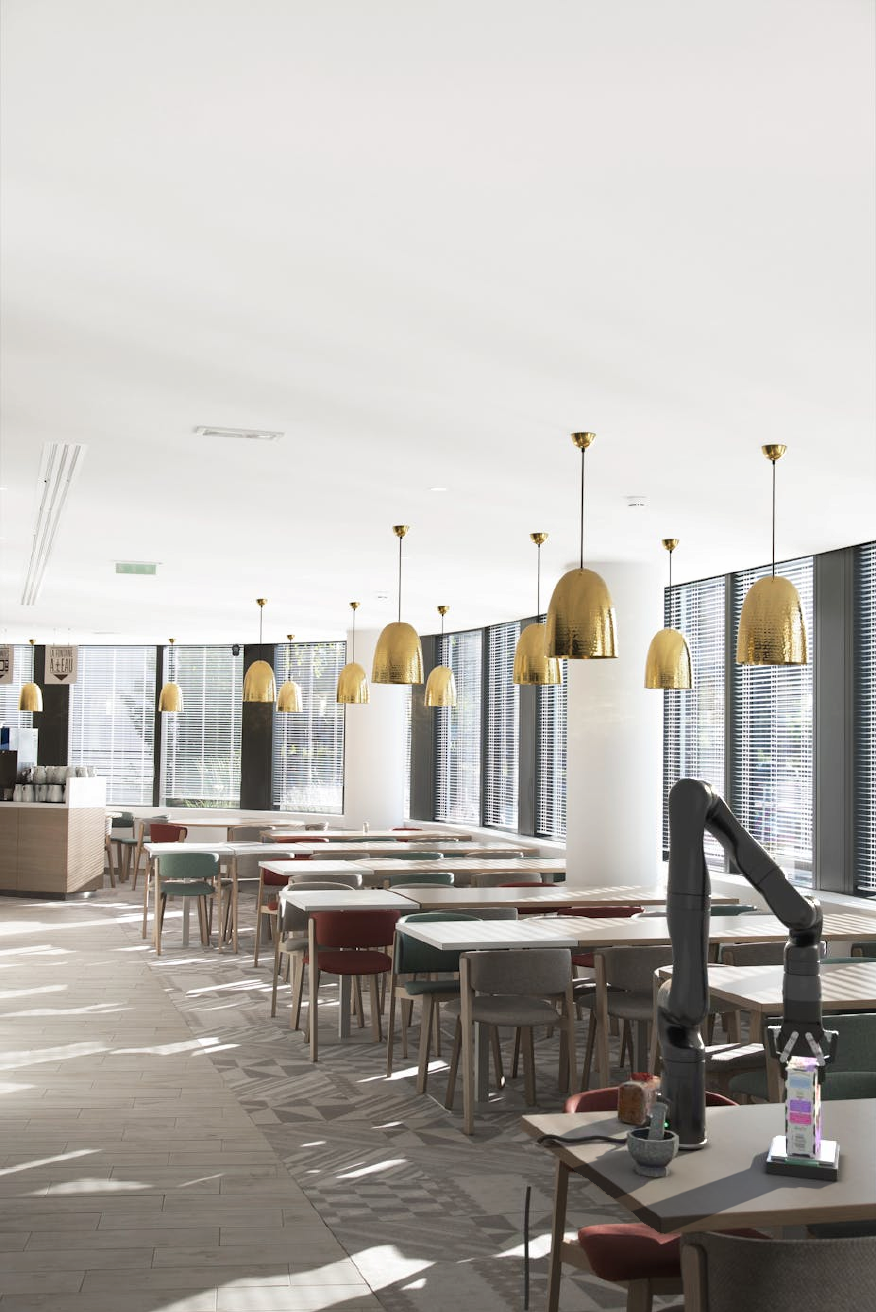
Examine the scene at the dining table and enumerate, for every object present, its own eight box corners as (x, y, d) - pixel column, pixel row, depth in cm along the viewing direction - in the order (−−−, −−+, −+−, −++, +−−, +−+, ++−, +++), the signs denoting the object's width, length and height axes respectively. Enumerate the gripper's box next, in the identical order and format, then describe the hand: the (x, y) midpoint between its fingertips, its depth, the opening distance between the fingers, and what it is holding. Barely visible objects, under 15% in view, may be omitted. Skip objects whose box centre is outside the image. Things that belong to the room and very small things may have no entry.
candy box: (816, 1159, 241) (815, 1070, 243) (784, 1155, 243) (783, 1067, 245) (822, 1141, 254) (821, 1057, 256) (791, 1137, 256) (791, 1054, 258)
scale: (837, 1181, 237) (837, 1165, 237) (766, 1173, 241) (766, 1158, 241) (839, 1155, 254) (839, 1141, 254) (773, 1148, 258) (773, 1134, 258)
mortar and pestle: (669, 1182, 234) (669, 1115, 235) (620, 1174, 238) (621, 1109, 239) (685, 1167, 244) (685, 1103, 245) (638, 1159, 248) (639, 1097, 249)
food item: (637, 1109, 288) (637, 1064, 289) (670, 1114, 284) (670, 1069, 285) (614, 1121, 277) (614, 1075, 278) (648, 1127, 272) (648, 1080, 274)
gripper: (840, 995, 253) (841, 1082, 251) (766, 990, 257) (767, 1075, 256) (839, 1001, 246) (840, 1090, 244) (763, 996, 250) (764, 1083, 249)
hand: (803, 1082), depth 250 cm, fingers closed on candy box, 6 cm apart
